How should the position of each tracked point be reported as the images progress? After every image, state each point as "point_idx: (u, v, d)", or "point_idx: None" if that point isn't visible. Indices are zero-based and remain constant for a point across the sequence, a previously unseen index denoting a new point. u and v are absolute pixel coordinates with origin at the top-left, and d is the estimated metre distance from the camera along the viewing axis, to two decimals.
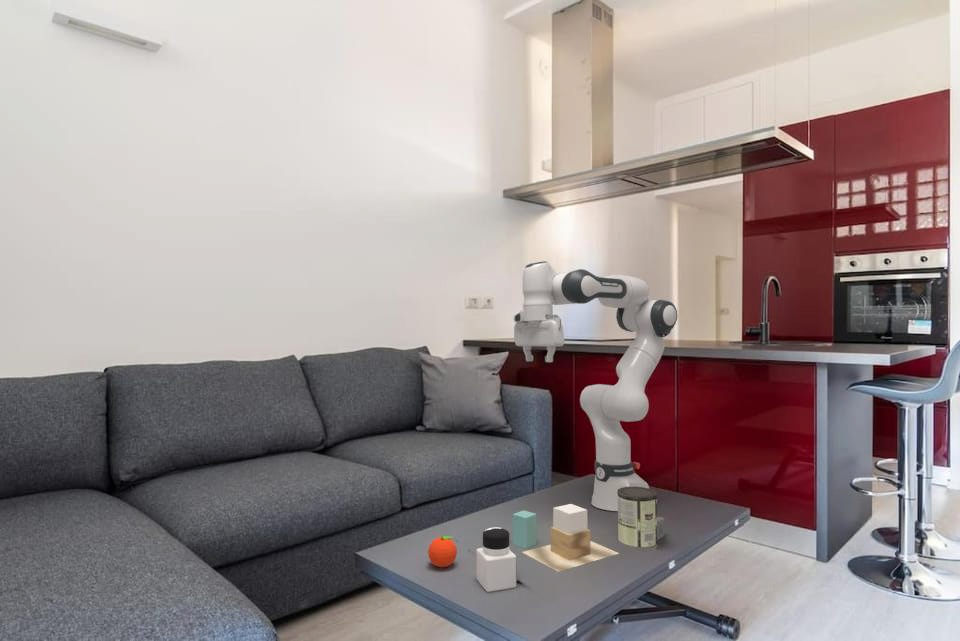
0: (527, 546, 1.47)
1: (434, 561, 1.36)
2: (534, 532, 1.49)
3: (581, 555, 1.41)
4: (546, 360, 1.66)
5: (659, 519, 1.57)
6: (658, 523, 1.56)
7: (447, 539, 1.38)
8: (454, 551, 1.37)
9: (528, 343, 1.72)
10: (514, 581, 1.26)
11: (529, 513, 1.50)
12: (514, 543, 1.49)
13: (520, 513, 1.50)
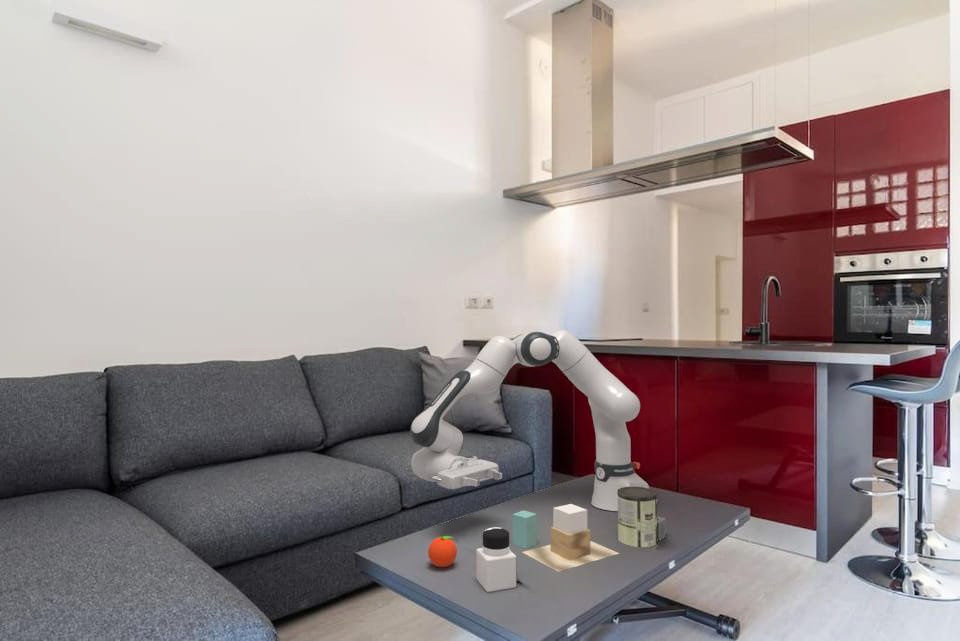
0: (527, 546, 1.47)
1: (434, 561, 1.36)
2: (534, 532, 1.49)
3: (581, 555, 1.41)
4: (476, 485, 1.55)
5: (661, 519, 1.57)
6: (660, 523, 1.55)
7: (447, 539, 1.38)
8: (454, 551, 1.37)
9: None
10: (514, 581, 1.26)
11: (529, 513, 1.50)
12: (514, 543, 1.49)
13: (520, 513, 1.50)
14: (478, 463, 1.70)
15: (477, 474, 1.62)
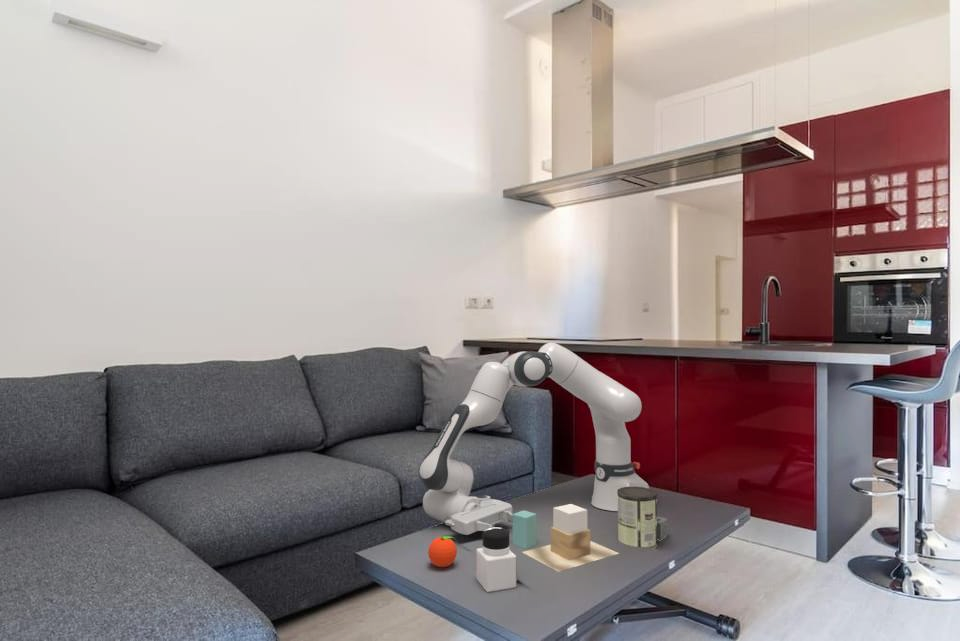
0: (527, 546, 1.47)
1: (434, 561, 1.36)
2: (534, 532, 1.49)
3: (581, 555, 1.41)
4: None
5: (662, 520, 1.57)
6: (662, 524, 1.55)
7: (447, 539, 1.38)
8: (454, 551, 1.37)
9: None
10: (514, 581, 1.26)
11: (529, 513, 1.50)
12: (514, 543, 1.49)
13: (520, 513, 1.50)
14: (491, 503, 1.66)
15: (491, 517, 1.59)
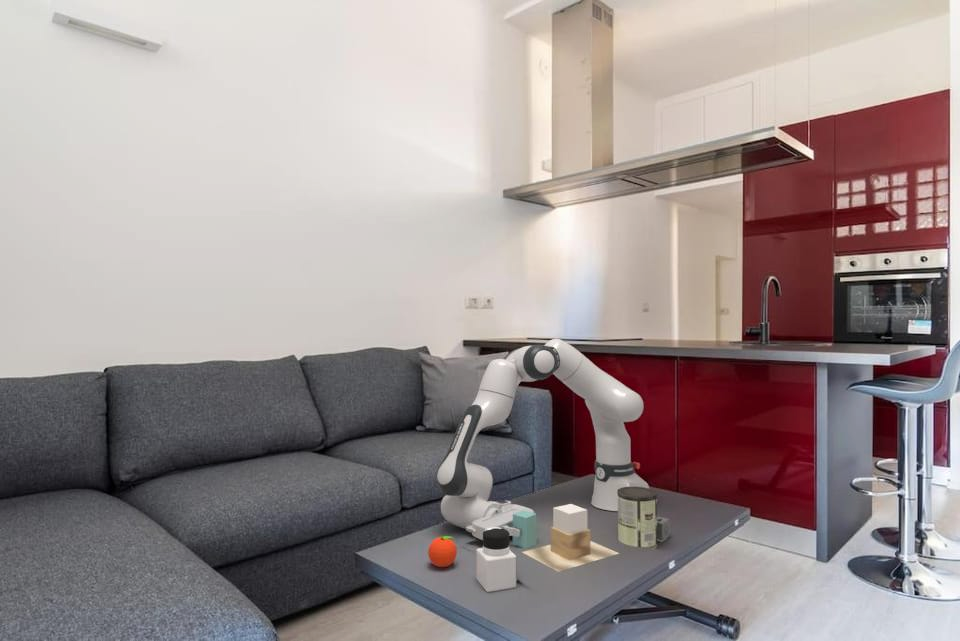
0: (527, 546, 1.47)
1: (434, 561, 1.36)
2: (534, 532, 1.49)
3: (581, 555, 1.41)
4: None
5: (664, 520, 1.57)
6: (663, 524, 1.55)
7: (447, 539, 1.38)
8: (454, 551, 1.37)
9: None
10: (514, 581, 1.26)
11: (529, 513, 1.50)
12: (514, 543, 1.49)
13: (520, 513, 1.50)
14: (513, 509, 1.61)
15: None
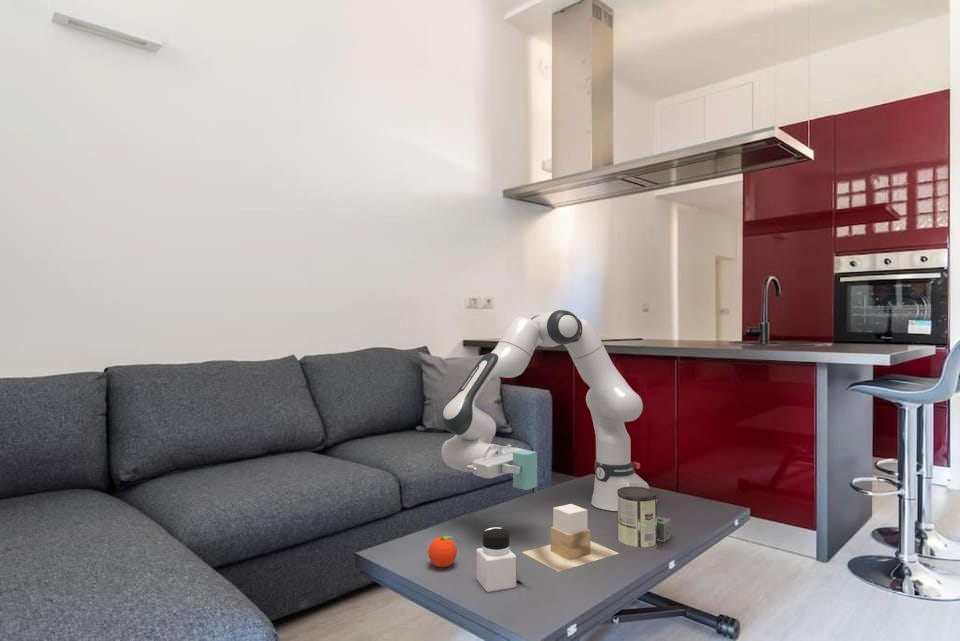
0: (527, 483, 1.47)
1: (434, 561, 1.36)
2: (534, 470, 1.49)
3: (581, 555, 1.41)
4: None
5: (666, 520, 1.56)
6: (665, 524, 1.54)
7: (447, 539, 1.38)
8: (454, 551, 1.37)
9: None
10: (514, 581, 1.26)
11: (529, 452, 1.50)
12: (514, 481, 1.49)
13: (520, 451, 1.50)
14: (513, 451, 1.61)
15: None
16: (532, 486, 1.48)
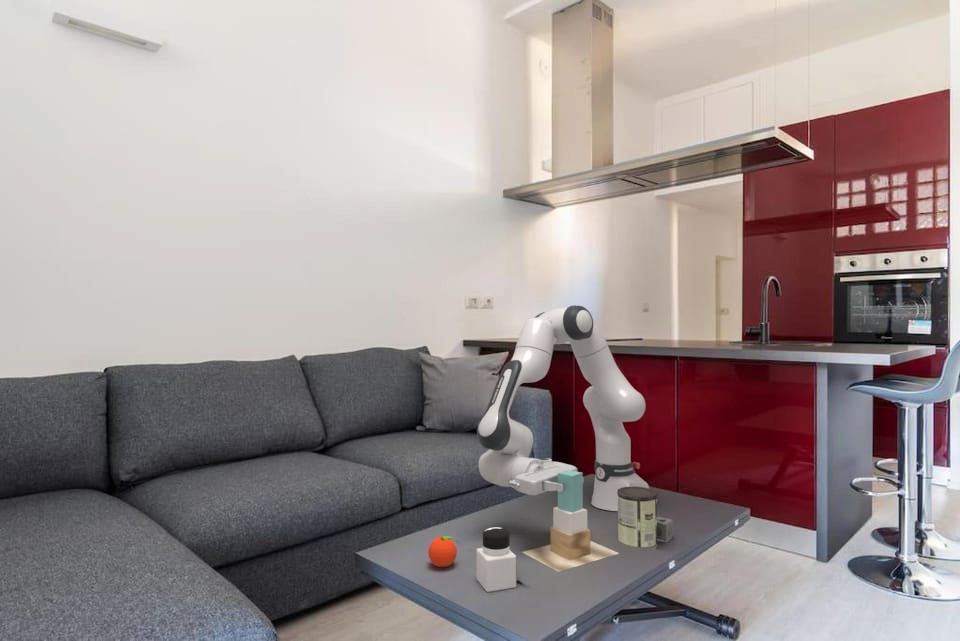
0: (573, 505, 1.41)
1: (434, 561, 1.36)
2: (580, 491, 1.43)
3: (581, 555, 1.41)
4: None
5: (668, 521, 1.56)
6: (667, 525, 1.54)
7: (447, 539, 1.38)
8: (454, 551, 1.37)
9: None
10: (514, 581, 1.26)
11: (574, 472, 1.44)
12: (559, 503, 1.43)
13: (565, 472, 1.44)
14: (554, 466, 1.55)
15: (557, 478, 1.48)
16: (578, 508, 1.42)
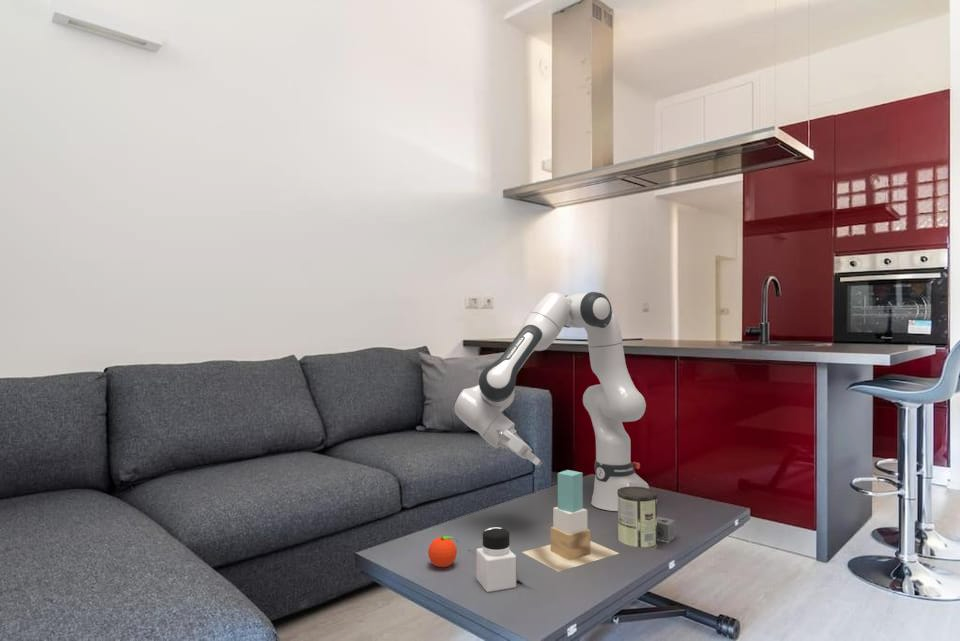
0: (573, 505, 1.41)
1: (434, 561, 1.36)
2: (580, 491, 1.43)
3: (581, 555, 1.41)
4: (535, 464, 1.53)
5: (670, 521, 1.56)
6: (669, 525, 1.54)
7: (447, 539, 1.38)
8: (454, 551, 1.37)
9: None
10: (514, 581, 1.26)
11: (574, 472, 1.44)
12: (559, 503, 1.43)
13: (565, 472, 1.44)
14: None
15: None
16: (578, 508, 1.42)
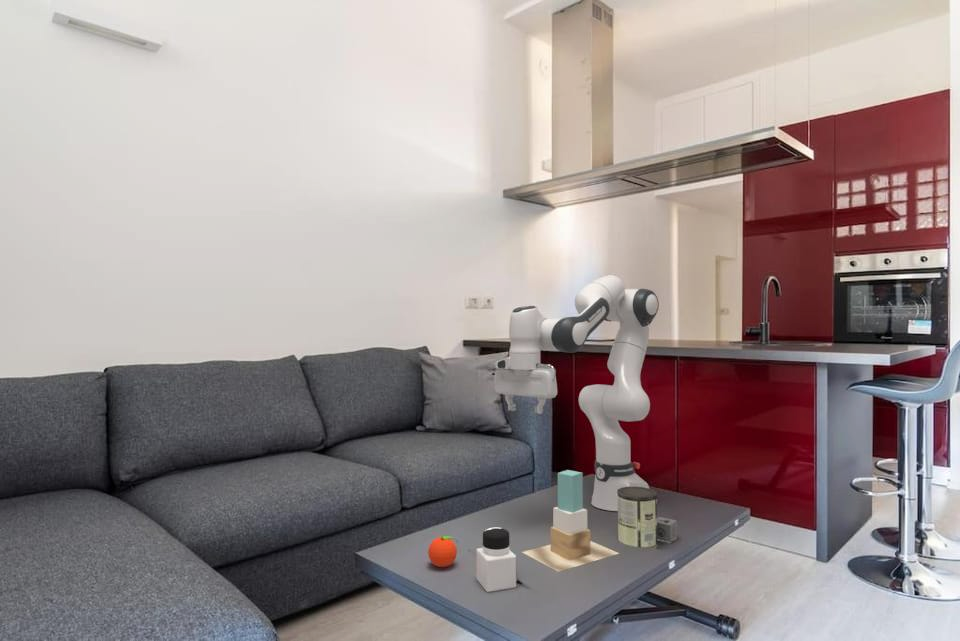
0: (573, 505, 1.41)
1: (434, 561, 1.36)
2: (580, 491, 1.43)
3: (581, 555, 1.41)
4: (536, 411, 1.58)
5: (672, 521, 1.55)
6: (671, 526, 1.53)
7: (447, 539, 1.38)
8: (454, 551, 1.37)
9: (513, 392, 1.62)
10: (514, 581, 1.26)
11: (574, 472, 1.44)
12: (559, 503, 1.43)
13: (565, 472, 1.44)
14: None
15: None
16: (578, 508, 1.42)
